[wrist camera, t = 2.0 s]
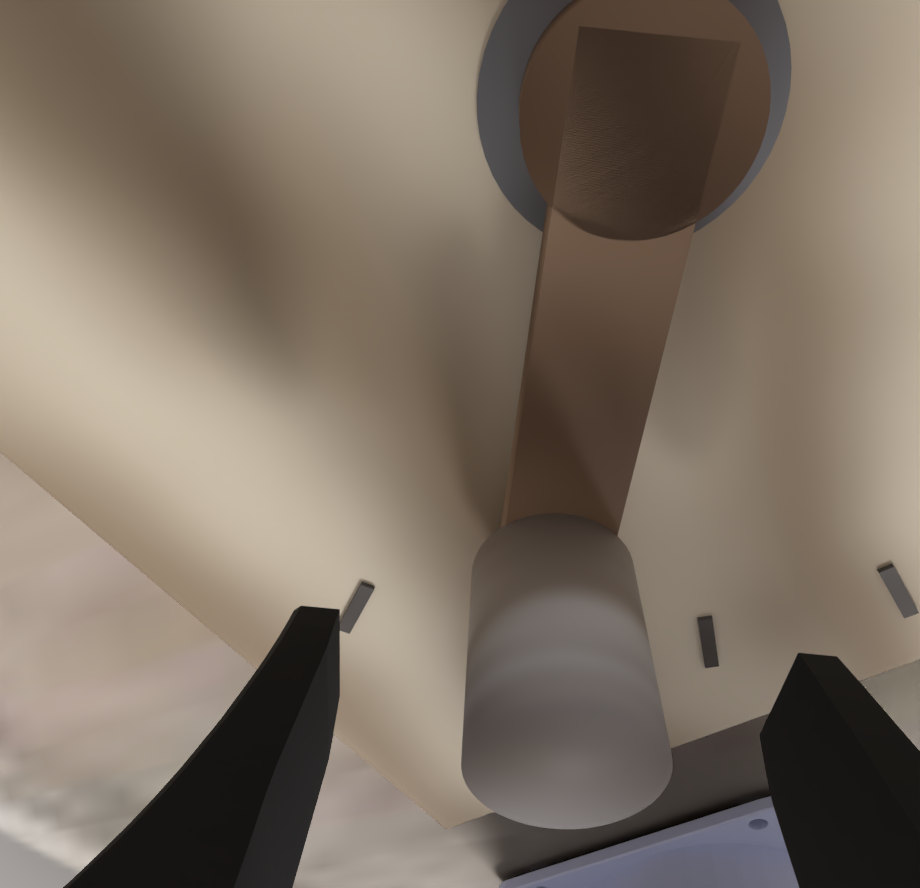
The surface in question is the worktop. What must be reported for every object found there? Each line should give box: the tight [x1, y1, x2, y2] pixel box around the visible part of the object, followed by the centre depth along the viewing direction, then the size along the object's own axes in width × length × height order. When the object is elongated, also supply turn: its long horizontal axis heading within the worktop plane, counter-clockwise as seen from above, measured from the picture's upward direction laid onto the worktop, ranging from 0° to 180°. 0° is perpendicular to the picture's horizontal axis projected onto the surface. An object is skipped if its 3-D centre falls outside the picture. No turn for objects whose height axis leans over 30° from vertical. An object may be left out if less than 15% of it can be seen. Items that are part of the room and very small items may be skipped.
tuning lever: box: [461, 0, 771, 829], centre depth 12 cm, size 14×3×5 cm, turn 175°
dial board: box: [0, 0, 920, 829], centre depth 13 cm, size 26×21×1 cm
